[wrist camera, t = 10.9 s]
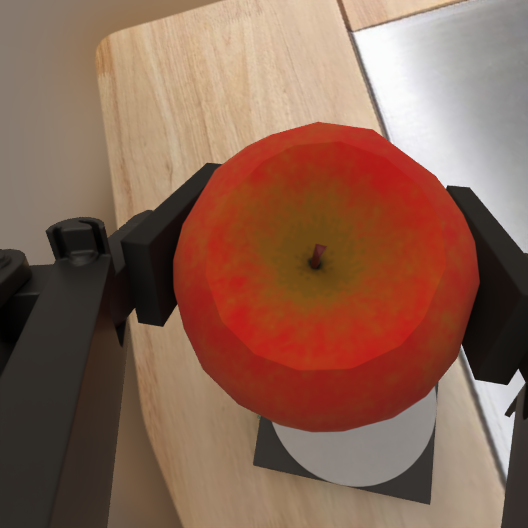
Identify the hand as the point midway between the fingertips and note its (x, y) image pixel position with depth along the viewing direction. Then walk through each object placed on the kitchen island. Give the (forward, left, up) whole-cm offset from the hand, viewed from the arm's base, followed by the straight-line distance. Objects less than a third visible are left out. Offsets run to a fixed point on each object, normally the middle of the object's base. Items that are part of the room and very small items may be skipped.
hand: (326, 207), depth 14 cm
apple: (0, -3, -4) cm, 5 cm away
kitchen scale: (+4, -8, -16) cm, 18 cm away
